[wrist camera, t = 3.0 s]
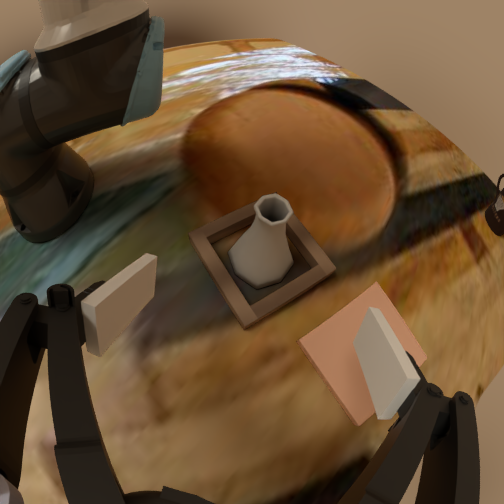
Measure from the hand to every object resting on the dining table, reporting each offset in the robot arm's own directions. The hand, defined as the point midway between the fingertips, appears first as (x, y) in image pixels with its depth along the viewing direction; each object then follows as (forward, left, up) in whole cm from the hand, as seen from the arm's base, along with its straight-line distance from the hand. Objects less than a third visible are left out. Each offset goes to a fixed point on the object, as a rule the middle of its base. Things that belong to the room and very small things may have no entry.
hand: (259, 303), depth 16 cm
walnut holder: (-7, +6, -13) cm, 16 cm away
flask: (-7, +6, -13) cm, 16 cm away
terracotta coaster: (+9, +10, -13) cm, 19 cm away
